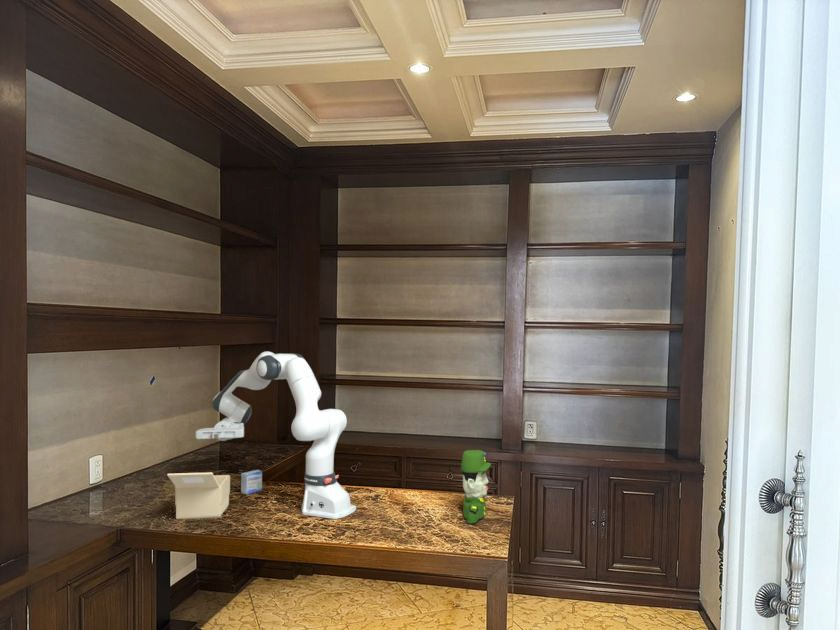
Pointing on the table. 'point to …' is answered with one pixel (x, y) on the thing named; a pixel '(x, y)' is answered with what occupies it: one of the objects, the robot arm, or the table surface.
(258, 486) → the medicine box
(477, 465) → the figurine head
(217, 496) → the carton
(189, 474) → the carton flap
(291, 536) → the table surface
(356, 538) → the table surface
